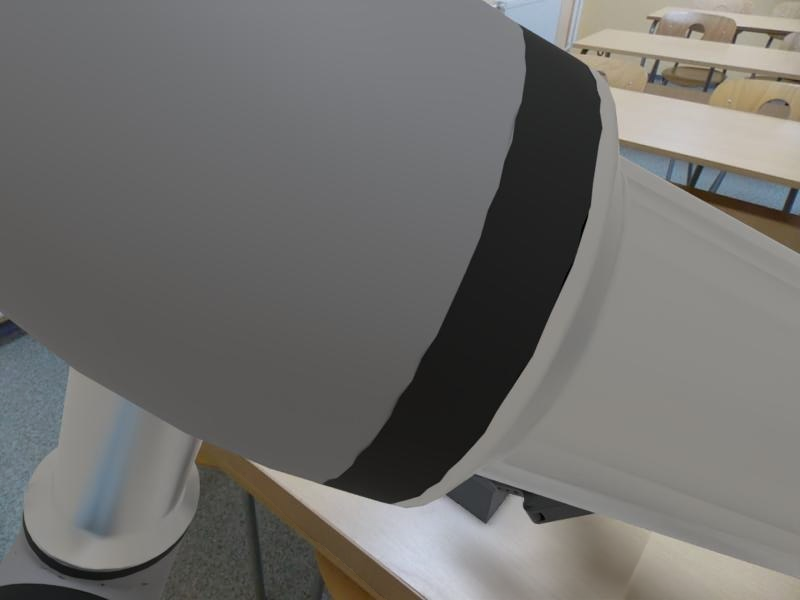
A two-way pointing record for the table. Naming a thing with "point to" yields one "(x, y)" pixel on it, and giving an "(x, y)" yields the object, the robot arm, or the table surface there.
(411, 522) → the table surface
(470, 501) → the stick holder
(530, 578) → the table surface
